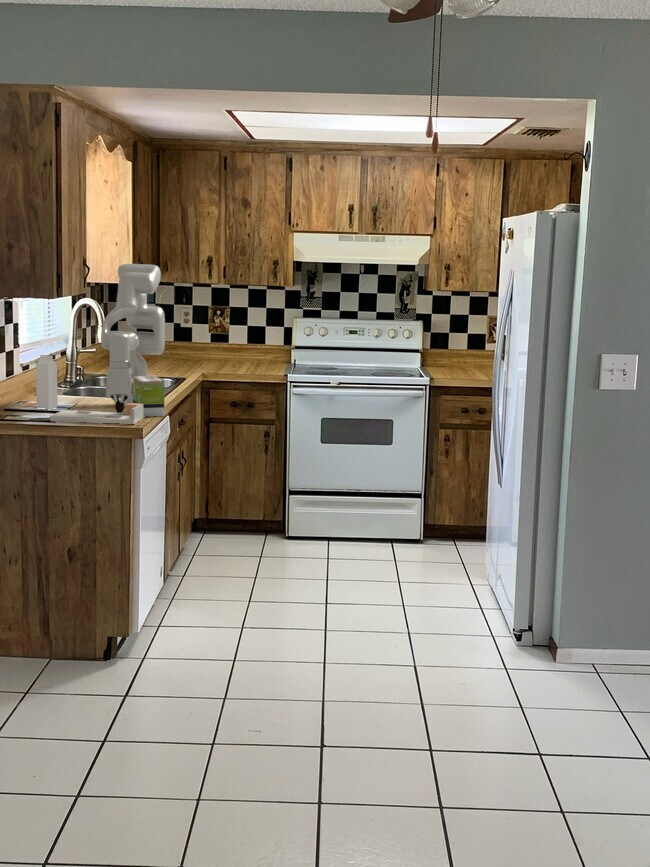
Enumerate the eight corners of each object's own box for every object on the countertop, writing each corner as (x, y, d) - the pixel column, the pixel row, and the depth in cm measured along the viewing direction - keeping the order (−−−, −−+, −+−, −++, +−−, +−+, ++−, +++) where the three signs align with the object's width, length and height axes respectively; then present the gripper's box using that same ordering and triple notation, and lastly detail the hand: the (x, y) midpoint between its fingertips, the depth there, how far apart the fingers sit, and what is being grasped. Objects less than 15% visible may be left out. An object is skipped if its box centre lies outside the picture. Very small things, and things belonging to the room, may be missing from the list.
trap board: (63, 415, 375) (62, 400, 374) (143, 418, 373) (143, 403, 372) (50, 421, 360) (50, 405, 359) (133, 424, 359) (133, 409, 358)
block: (127, 413, 373) (127, 402, 373) (140, 413, 374) (140, 403, 373) (125, 414, 369) (125, 404, 368) (138, 415, 369) (138, 405, 368)
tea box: (131, 411, 391) (131, 375, 388) (155, 411, 395) (156, 375, 392) (140, 417, 377) (140, 380, 374) (165, 416, 381) (165, 380, 379)
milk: (45, 407, 392) (44, 354, 389) (57, 408, 390) (57, 355, 387) (36, 409, 387) (35, 355, 383) (48, 410, 385) (48, 356, 381)
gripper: (141, 365, 370) (141, 411, 373) (103, 363, 370) (103, 410, 374) (136, 367, 362) (136, 414, 365) (97, 365, 363) (97, 413, 366)
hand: (119, 412), depth 370 cm, fingers closed
